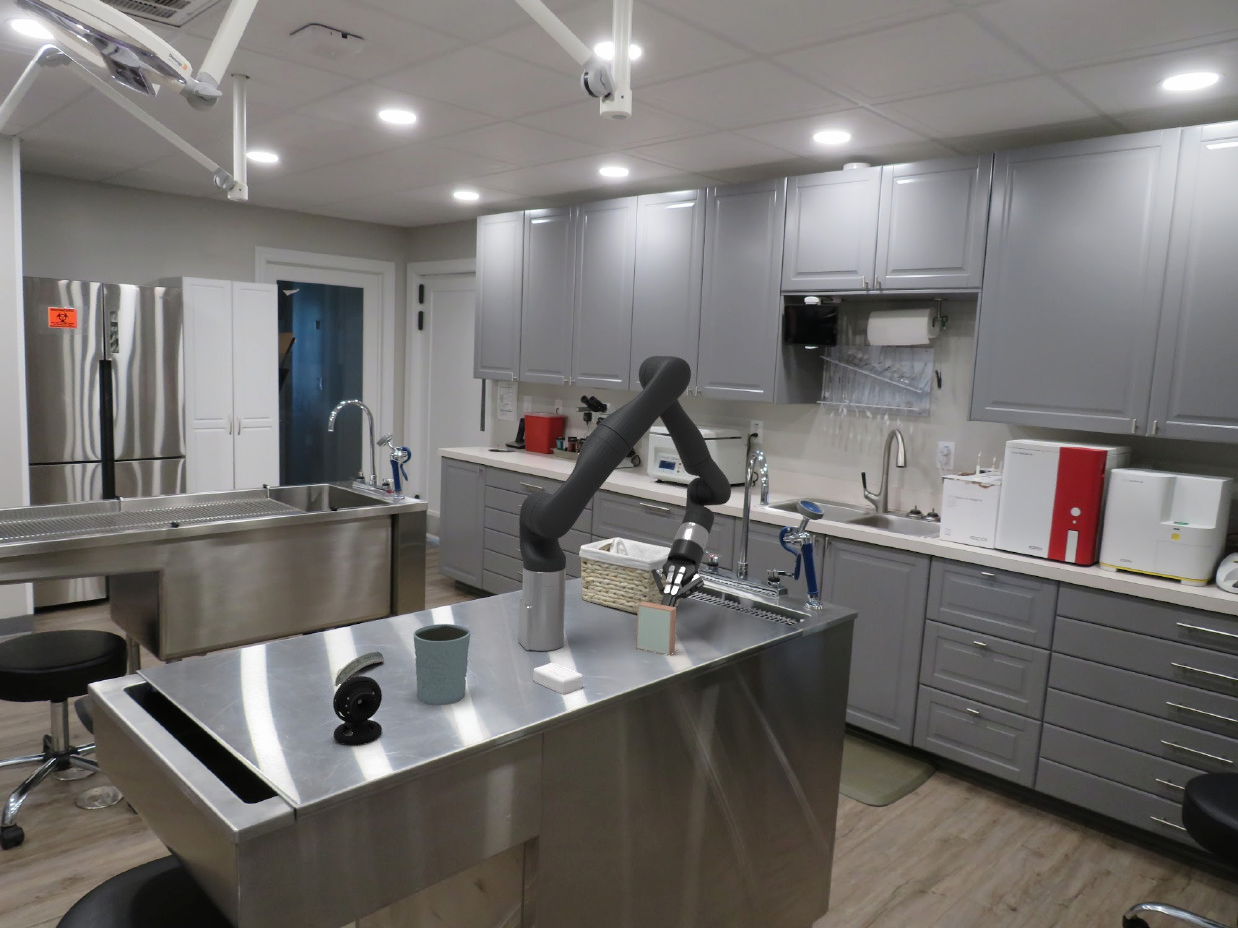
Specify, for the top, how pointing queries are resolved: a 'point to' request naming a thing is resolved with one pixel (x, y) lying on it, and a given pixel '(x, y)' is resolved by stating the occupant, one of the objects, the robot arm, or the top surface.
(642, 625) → the terracotta tile
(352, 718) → the webcam
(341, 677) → the ceramic fragment
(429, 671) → the green ceramic cup
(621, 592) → the storage basket
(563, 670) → the soap
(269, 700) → the top surface
